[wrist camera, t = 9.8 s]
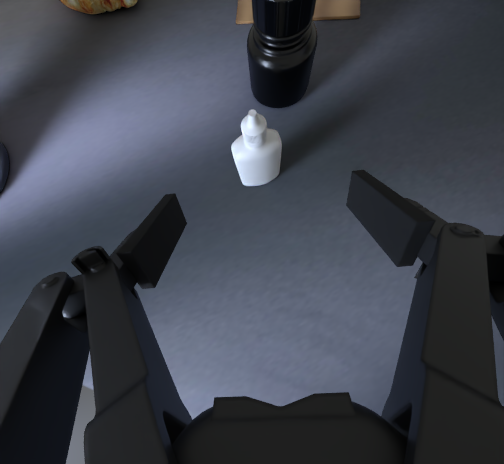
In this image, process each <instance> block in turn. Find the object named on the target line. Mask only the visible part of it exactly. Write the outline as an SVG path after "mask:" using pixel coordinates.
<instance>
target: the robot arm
mask: <svg viewBox="0 0 504 464" xmlns="http://www.w3.org/2000/svg"><path fill="white" fill-rule="evenodd" d="M8 172H9V158H8V154H7V151H6V149H5V147H4V146H3V144H2V143H1V142H0V192H1V191H2V189H3V187H4V185H5V182H6V180H7V176H8ZM346 206H347V207H348V208H349V209H350V210H351V212H352V213H353V214H354V215H355V216H356V218H357V219H358V220H359V221H360V223H361V224H362V225H363V226H364V227H365V229H366V230H367V231H368V232H369V233H370V235H371V236H372V237H373V238H374V239H375V241H376V242H377V243H378V244H379V246H380V247H381V248H382V249H383V250H384V252H385V253H386V254H387V255H388V256H389V258H390V259H391V260H392V261H393V262H394V264H395V265H396V266H397V267H401V266H412V265H413V264H414V262H415V260H416V258H417V256H418V257H419V258H420V259H421V260H422V261H423V263H422V265H421V267H420V268H419V270H418V272H417V274H416V276H415V277H414V278H417V282H416V287H415V291H414V295H413V299H412V304H411V308H410V312H409V316H408V320H407V325H406V329H405V333H404V337H403V342H402V346H401V350H400V354H399V358H398V363H397V367H396V371H395V375H394V380H393V384H392V388H391V392H390V394H389V397H388V399H387V401H386V404H385V406H384V409H383V412H382V416H379V415H378V414H377V413H375V412H373V411H372V410H370V409H368V408H366V407H364V406H362V405H360V404H357V403H354V402H352V401H351V398H350V395H349V392H347V393H321V394H313V395H310V396H308V397H305V398H303V399H300V400H298V401H295V402H293V403H290V404H288V405H285V406H281V407H280V406H275V405H272V404H269V403H266V402H262V401H259V400H256V399H253V398H250V397H246V396H243V397H216V398H214V405H213V407H211V408H209V409H207V410H206V411H204V412H202V413H201V414H200V415H198V416H197V417H196V418H194V419H193V420H192V418H191V416H190V414H189V412H188V411H187V409H186V408H185V406H184V404H183V403H182V401H181V399H180V397H179V394H178V392H177V389H176V387H175V384H174V382H173V380H172V377H171V375H170V372H169V370H168V367H167V365H166V362H165V360H164V357H163V355H162V352H161V350H160V348H159V345H158V343H157V340H156V338H155V335H154V333H153V330H152V328H151V325H150V323H149V320H148V318H147V316H146V313H145V311H144V308H143V306H142V303H141V301H140V298H139V296H138V293H137V291H136V290H135V289H134V286H135V285H136V283H138V284H139V285H140V287H141V288H142V289H146V288H155V287H156V285H157V283H158V281H159V279H160V277H161V274H162V272H163V270H164V268H165V266H166V264H167V262H168V260H169V258H170V256H171V254H172V252H173V250H174V248H175V246H176V244H177V242H178V240H179V238H180V236H181V234H182V232H183V230H184V228H185V226H186V224H187V222H186V220H185V217H184V215H183V212H182V210H181V207H180V205H179V202H178V199H177V197H176V194H167V195H165V196H164V197H163V198H162V199H161V201H160V202H159V203H158V204H157V205H156V207H155V208H154V209H153V210H152V211H151V212H150V214H149V215H148V216H147V217H146V218H145V220H144V221H143V222H142V223H141V224H140V225H139V227H138V228H137V229H135V230H134V231H133V232H131V233H130V234H129V235H128V236H127V237H126V238H125V239H124V241H122V243H121V244H120V245H119V246H118V247H117V248H116V250H115V251H114V252H113V253H112V254H111V255H110V256H109V255H108V254H107V253H106V251H105V250H104V249H103V248H102V247H101V246H95V247H91V248H88V249H86V250H84V251H82V252H80V253H79V254H77V255H76V256H75V257H74V258H73V259H72V261H71V263H72V264H73V265H74V266H75V267H76V268H77V269H78V270H79V271H80V272H81V273H82V274H81V275H78V276H75V277H72V278H71V277H70V276H69V275H68V274H67V273H66V272H58V273H54V274H52V275H49V276H47V277H46V278H44V279H42V280H41V281H40V282H39V283H38V284H37V285H36V286H35V287H34V289H33V290H32V292H31V294H30V295H29V297H28V299H27V300H26V302H25V304H24V305H23V307H22V309H21V310H20V312H19V314H18V315H17V317H16V319H15V320H14V322H13V324H12V325H11V327H10V329H9V330H8V332H7V334H6V335H5V337H4V339H3V341H2V342H1V344H0V464H66V459H67V455H68V450H69V445H70V440H71V436H72V430H73V426H74V421H75V416H76V412H77V407H78V402H79V398H80V393H81V388H82V384H83V379H84V374H85V369H86V365H87V360H88V355H89V350H90V356H91V366H92V376H93V386H94V397H95V406H96V415H95V417H94V419H93V420H92V421H90V422H89V423H88V424H87V426H86V429H85V432H84V455H85V464H504V406H502V405H501V403H500V402H499V398H498V391H497V379H496V367H495V355H494V342H493V330H492V318H491V315H492V317H493V319H494V321H495V324H496V326H497V328H498V330H499V332H500V334H501V336H502V338H503V340H504V235H503V236H492V235H484V234H483V232H481V231H480V230H479V229H477V228H474V227H472V226H469V225H466V224H461V223H447V222H446V221H444V220H443V219H441V218H440V217H438V216H437V215H435V214H434V213H432V212H431V211H429V210H428V209H426V208H425V207H424V208H423V206H422V205H420V204H419V203H417V202H416V201H413V200H410V199H408V198H403V197H402V196H400V195H399V194H397V193H396V192H394V191H393V190H392V189H390V188H389V187H387V186H386V185H385V184H383V183H382V182H380V181H379V180H377V179H376V178H375V177H373V176H372V175H370V174H369V173H367V172H366V171H365V170H357V171H352V176H351V181H350V187H349V193H348V198H347V204H346ZM63 316H64V317H63Z"/></svg>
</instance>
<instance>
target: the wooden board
mask: <svg viewBox="0 0 504 464" xmlns="http://www.w3.org/2000/svg"><path fill="white" fill-rule="evenodd" d="M359 17H360V0H316V5H315V11H314V15H313V19H312V20H333V19H353V18H359ZM249 23H254V22H253V14H252V0H238V7H237V16H236V24H249Z"/></svg>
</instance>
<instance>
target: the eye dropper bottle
mask: <svg viewBox="0 0 504 464" xmlns="http://www.w3.org/2000/svg"><path fill="white" fill-rule="evenodd" d="M241 129H242V134H243V135H241V136H240V137H239V138H237V139H236V140H235V141H234V142H233V144H232V147H231V149H232V154H233V157H234V160H235V163H236V166H237V169H238V172H239V175H240V178H241V180H242V183H243V184H244V185H246V186H259V185H263V184H266V183H268V182H270V181H271V180H273V179H274V178H276V177H277V176H278V174H279V171H280V162H281V151H282V142H281V139H280V136H279V134H278V132H277V131H276V130H274V129H268V128H267V123H266V119H265V118H264V117H263V116H262V115H260V114H257V113H256V111H255V110H250V111H249V113H248V115H247V116H246V117H245V118H244V119H243V120H242V123H241Z"/></svg>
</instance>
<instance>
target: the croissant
mask: <svg viewBox="0 0 504 464" xmlns="http://www.w3.org/2000/svg"><path fill="white" fill-rule="evenodd" d="M60 1H61V2H62V3H63V4H64V5H66V6H67V7H68V8H71V9H73V10H76V11H79V12H83V13H87V14H99V13H103V12H105V11H107V10H108V11H114V10H116V9H117V8H119V9H120V8H121V6H123V7H126V8H129V7H131V6H134V5H135V4H136V3H137V1H138V0H60Z"/></svg>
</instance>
